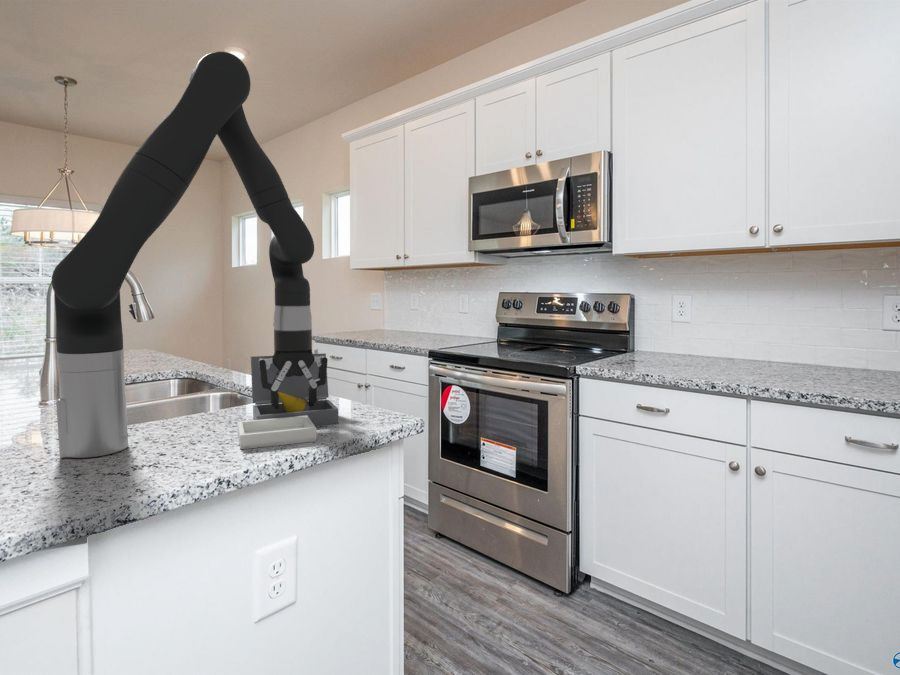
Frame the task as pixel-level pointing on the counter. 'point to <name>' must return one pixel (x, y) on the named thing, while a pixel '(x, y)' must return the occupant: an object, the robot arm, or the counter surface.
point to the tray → (275, 432)
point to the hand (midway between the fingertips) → (294, 406)
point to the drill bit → (294, 403)
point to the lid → (284, 383)
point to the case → (318, 415)
